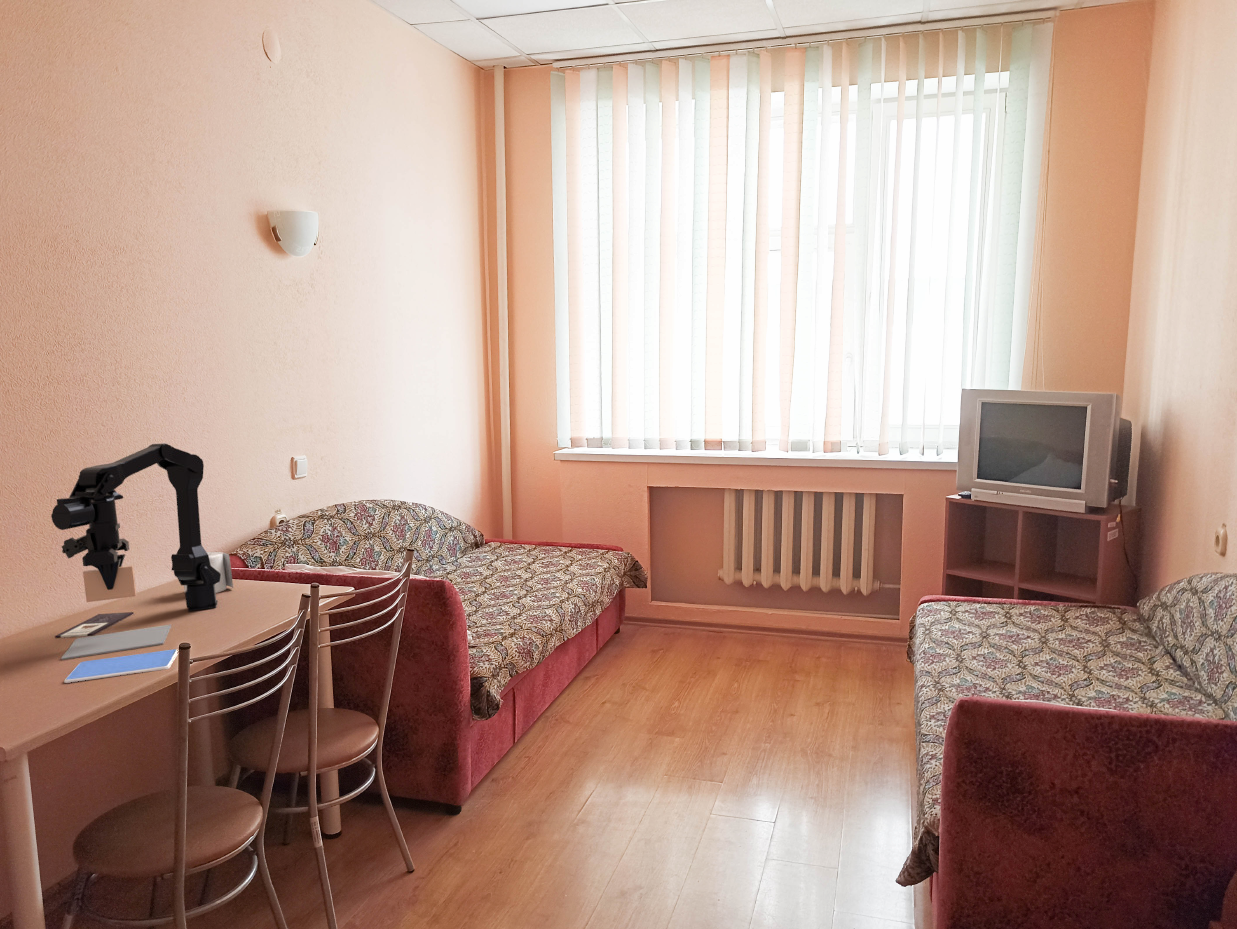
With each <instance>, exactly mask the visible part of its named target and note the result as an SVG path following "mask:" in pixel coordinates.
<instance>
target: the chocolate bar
mask: <svg viewBox="0 0 1237 929" xmlns="http://www.w3.org/2000/svg"><path fill="white" fill-rule="evenodd" d="M132 614H133V615H134V614H135V613H134V611H130V612H129V611H128V612H114V613H113V612H112V613H111V612H109V613H98V614H96V615H94V616H92V617H91V618H88V619H86V620H83V621H82V622H80V623H78V624H76V625H74V626H72V627H70V628H67V629H66V630H64V631H62V632H60V633H58V634H57V635H55V636H54V638H55V639H62V638H63V639H64V637H65V638H82V637H89V636H96V635H98V634H99V633H101V632H102V631H105V630H106V629H108V628H110V627H112V626H114V625H116V624H117V623H120V622H122V621H123V620H125V619H127V618H129V617H131V616H132ZM119 621H120V622H119Z"/></svg>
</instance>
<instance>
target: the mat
mask: <svg viewBox="0 0 1237 929" xmlns="http://www.w3.org/2000/svg"><path fill="white" fill-rule="evenodd" d="M171 627H172V624H166V625H165V624H164V625H159V626H152V627H151V626H150V627H145V628H144V627H143V628H137V629H131V630H124V631H118V632H117V631H116V632H110V633H104V634H95V635H93V636H81V637H75V639H74V641H73V642H72V643H71V645H70V647H68V649H67V650H66V651H65V653H64V654H63V655H62V657H60V660H61V661H64V660H72V659H76V658H77V659H79V658H83V657H91V656H97V655H104V654H111V653H117V652H123V651H129V650H135V649H142V648H143V649H144V648H149V647H156V646H161V645H164V643H165V641H166V640H167V637H168V635H169V632H170V630H171Z"/></svg>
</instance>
